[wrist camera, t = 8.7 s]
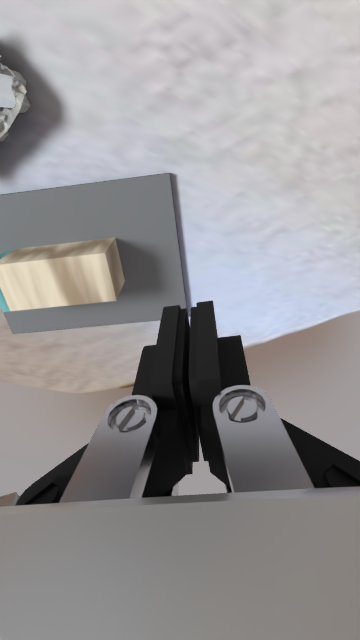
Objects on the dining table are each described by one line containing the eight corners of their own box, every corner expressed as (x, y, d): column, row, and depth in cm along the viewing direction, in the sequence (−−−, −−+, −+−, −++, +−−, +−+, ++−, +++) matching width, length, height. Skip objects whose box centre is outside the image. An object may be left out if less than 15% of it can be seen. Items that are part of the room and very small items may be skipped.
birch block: (104, 252, 31) (-18, 266, 32) (116, 300, 34) (2, 312, 35) (115, 237, 35) (7, 249, 36) (124, 280, 38) (23, 291, 39)
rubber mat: (169, 172, 33) (169, 173, 32) (187, 315, 41) (187, 317, 40) (-42, 200, 34) (-46, 201, 34) (14, 331, 42) (12, 333, 42)
